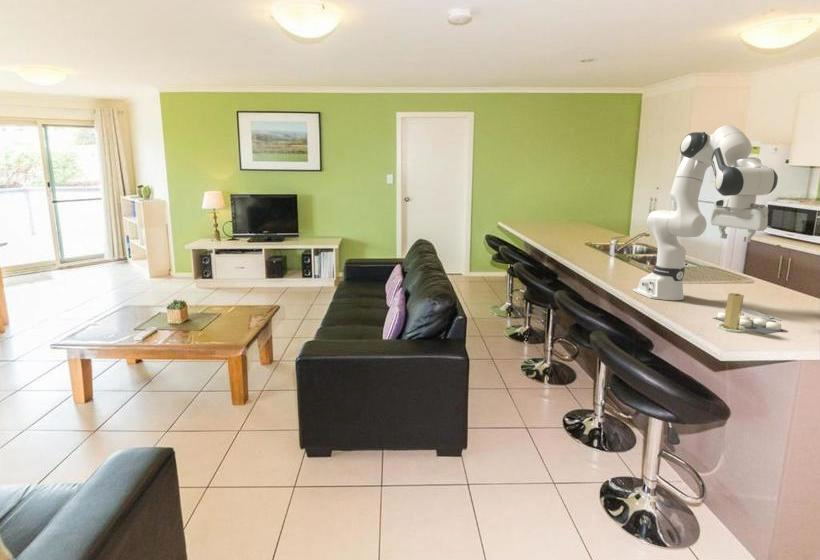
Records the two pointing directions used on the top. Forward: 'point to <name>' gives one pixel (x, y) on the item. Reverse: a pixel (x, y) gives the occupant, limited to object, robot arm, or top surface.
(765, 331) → the mat
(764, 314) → the adjustable wrench
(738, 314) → the coupling nut
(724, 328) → the dish
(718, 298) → the top surface
